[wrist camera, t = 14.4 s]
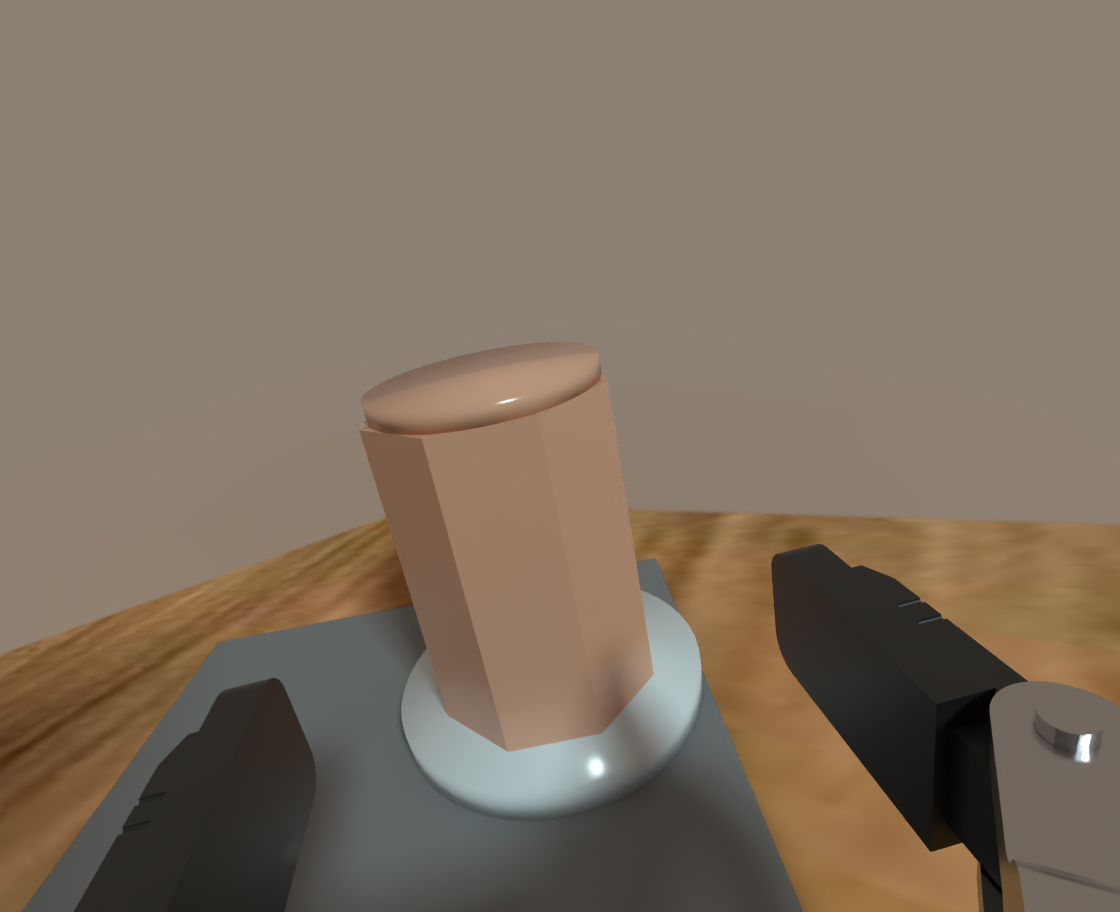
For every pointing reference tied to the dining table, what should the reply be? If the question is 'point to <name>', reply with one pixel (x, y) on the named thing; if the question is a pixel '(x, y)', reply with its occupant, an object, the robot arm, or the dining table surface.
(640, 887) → the rubber mat
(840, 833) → the dining table surface
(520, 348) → the domed octagonal post
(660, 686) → the saucer
